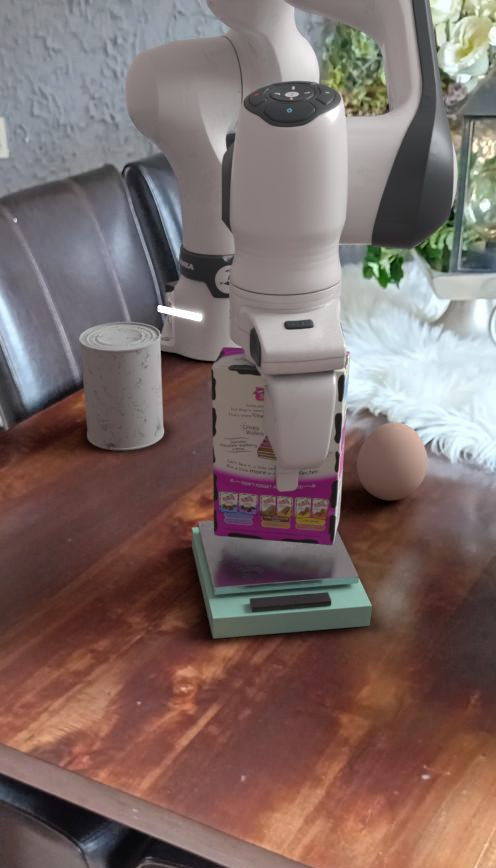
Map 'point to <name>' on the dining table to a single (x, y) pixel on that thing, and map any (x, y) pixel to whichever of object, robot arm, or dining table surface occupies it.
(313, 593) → the scale
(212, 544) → the scale pan
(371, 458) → the egg
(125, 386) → the tin can
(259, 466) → the candy bar box
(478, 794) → the dining table surface
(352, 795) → the dining table surface
